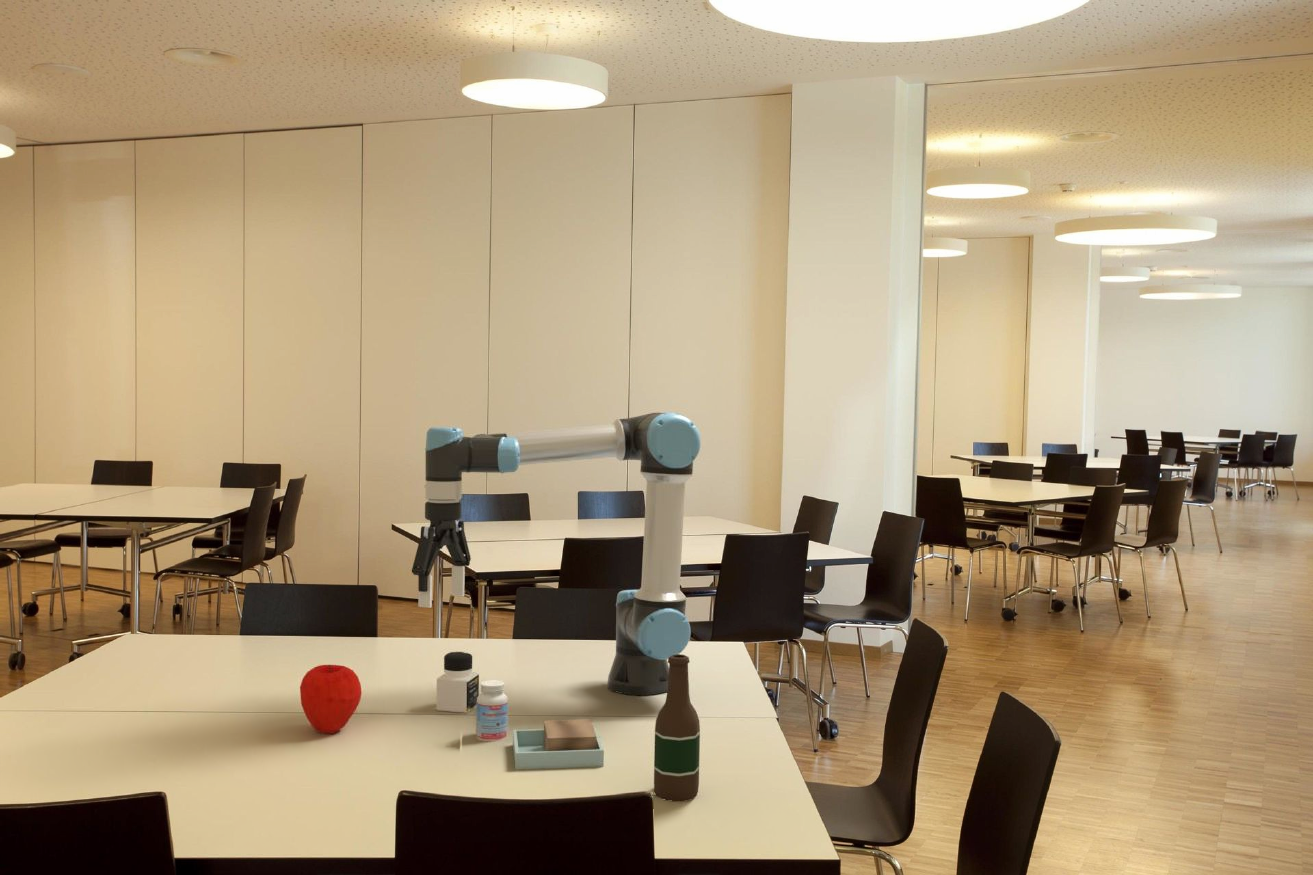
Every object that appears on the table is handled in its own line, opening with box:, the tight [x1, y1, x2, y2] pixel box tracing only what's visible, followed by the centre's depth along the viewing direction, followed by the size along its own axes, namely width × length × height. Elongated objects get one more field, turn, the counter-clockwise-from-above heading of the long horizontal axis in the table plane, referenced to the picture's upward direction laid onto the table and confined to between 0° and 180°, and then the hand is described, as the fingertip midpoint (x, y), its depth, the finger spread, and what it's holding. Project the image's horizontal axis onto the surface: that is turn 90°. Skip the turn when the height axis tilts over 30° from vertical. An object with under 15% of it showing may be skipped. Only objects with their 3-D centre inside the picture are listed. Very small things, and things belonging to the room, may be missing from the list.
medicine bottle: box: [435, 650, 480, 714], centre depth 240 cm, size 7×7×12 cm
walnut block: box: [543, 718, 597, 751], centre depth 208 cm, size 9×11×5 cm
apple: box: [299, 664, 363, 735], centre depth 222 cm, size 12×12×13 cm
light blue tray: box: [512, 727, 605, 770], centre depth 207 cm, size 16×14×4 cm
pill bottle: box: [475, 679, 508, 742], centre depth 218 cm, size 6×6×11 cm
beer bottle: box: [653, 653, 701, 802], centre depth 189 cm, size 8×8×24 cm
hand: (441, 601), depth 232 cm, fingers open, 13 cm apart
